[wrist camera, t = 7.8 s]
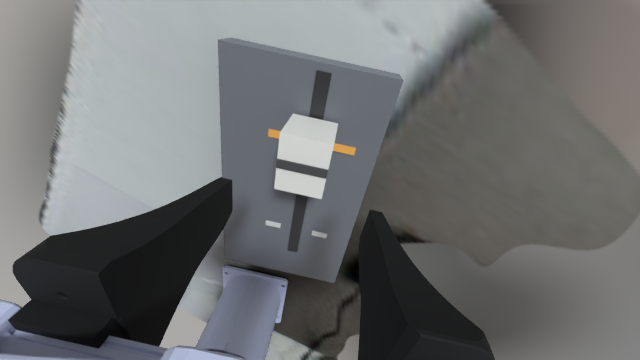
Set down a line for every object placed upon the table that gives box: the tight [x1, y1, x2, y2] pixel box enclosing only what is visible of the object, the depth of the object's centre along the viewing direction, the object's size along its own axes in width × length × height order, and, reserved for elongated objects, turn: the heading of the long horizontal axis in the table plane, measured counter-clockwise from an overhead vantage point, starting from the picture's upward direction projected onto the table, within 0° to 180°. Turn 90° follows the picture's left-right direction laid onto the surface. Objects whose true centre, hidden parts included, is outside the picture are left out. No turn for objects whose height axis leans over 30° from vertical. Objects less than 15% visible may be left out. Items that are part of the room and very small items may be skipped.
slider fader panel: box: [218, 38, 403, 283], centre depth 23 cm, size 21×12×2 cm, turn 170°
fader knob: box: [274, 114, 338, 199], centre depth 17 cm, size 4×3×4 cm
